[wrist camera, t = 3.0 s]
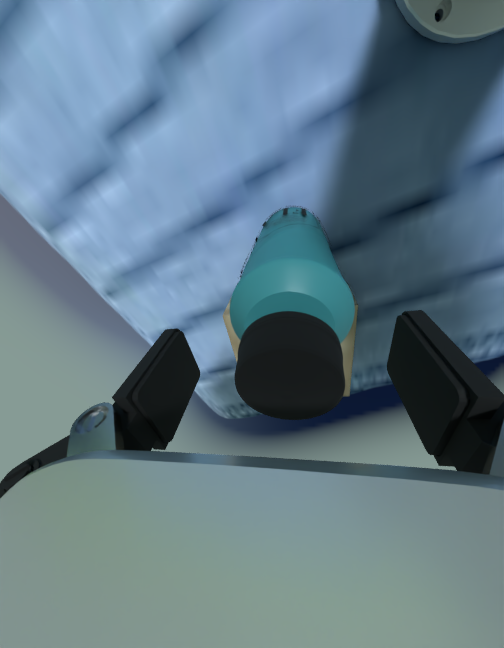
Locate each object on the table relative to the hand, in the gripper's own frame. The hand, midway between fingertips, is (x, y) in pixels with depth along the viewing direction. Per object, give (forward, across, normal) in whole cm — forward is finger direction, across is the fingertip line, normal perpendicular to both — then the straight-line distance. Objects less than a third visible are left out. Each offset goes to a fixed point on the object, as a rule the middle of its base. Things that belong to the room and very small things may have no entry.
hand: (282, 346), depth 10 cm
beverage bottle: (+17, 0, -1) cm, 17 cm away
